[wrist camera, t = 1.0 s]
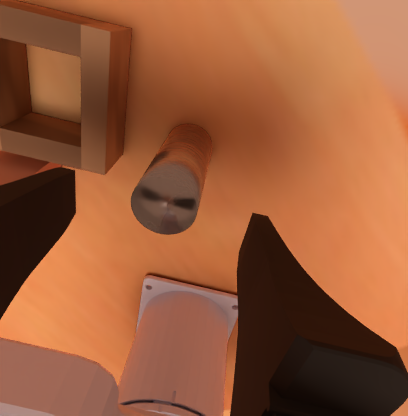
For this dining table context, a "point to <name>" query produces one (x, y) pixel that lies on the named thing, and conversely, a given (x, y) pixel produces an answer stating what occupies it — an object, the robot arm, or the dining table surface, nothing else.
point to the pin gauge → (174, 181)
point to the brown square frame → (90, 87)
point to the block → (21, 166)
